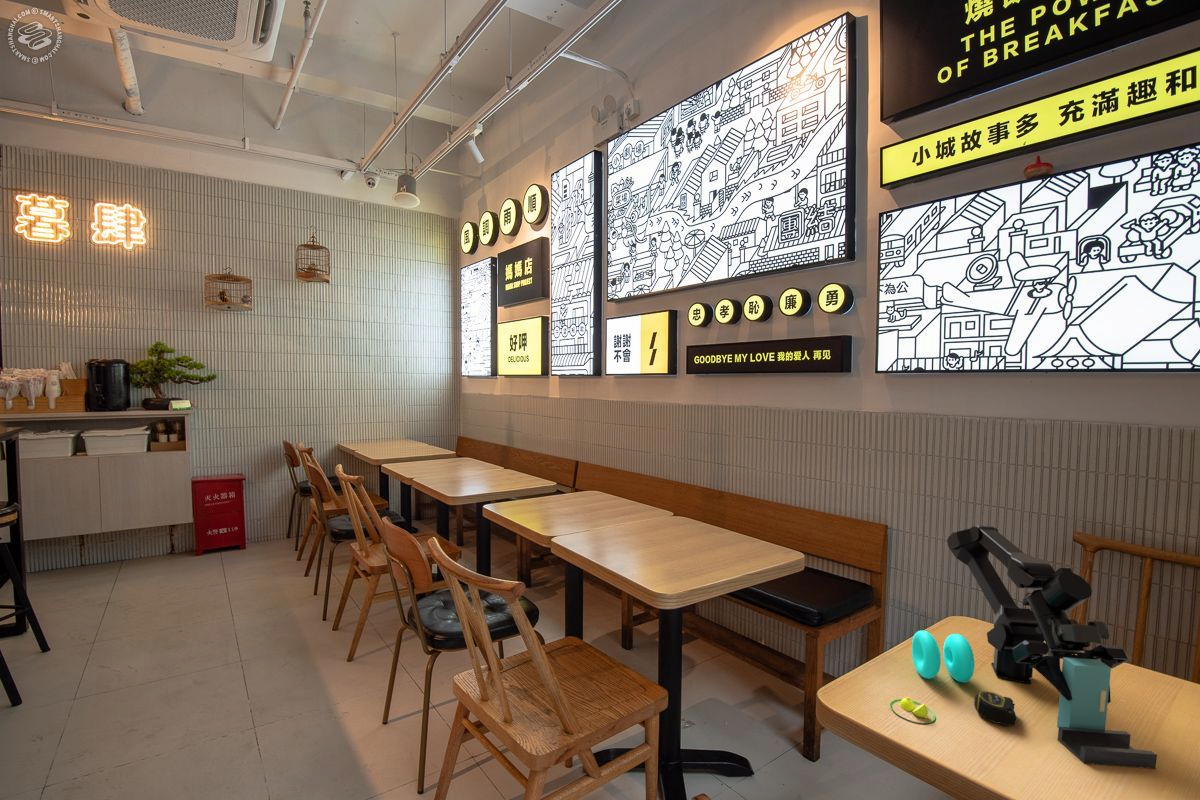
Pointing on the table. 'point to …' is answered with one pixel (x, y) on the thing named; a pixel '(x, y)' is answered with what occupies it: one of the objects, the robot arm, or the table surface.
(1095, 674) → the door panel
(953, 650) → the donuts
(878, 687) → the table surface
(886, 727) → the table surface
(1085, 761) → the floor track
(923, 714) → the lemon
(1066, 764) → the table surface
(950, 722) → the table surface
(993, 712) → the tape measure
